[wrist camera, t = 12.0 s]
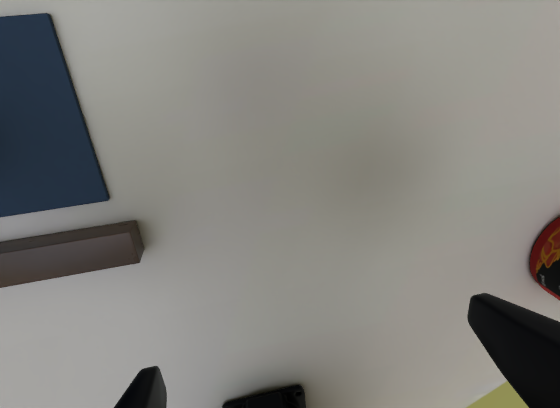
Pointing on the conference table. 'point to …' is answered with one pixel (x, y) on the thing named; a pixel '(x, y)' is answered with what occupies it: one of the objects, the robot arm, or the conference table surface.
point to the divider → (69, 253)
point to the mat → (41, 124)
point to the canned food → (547, 259)
